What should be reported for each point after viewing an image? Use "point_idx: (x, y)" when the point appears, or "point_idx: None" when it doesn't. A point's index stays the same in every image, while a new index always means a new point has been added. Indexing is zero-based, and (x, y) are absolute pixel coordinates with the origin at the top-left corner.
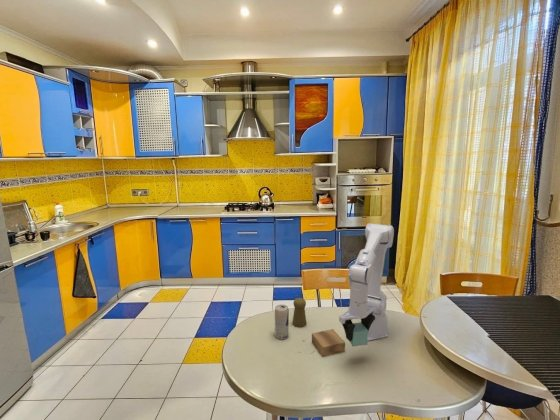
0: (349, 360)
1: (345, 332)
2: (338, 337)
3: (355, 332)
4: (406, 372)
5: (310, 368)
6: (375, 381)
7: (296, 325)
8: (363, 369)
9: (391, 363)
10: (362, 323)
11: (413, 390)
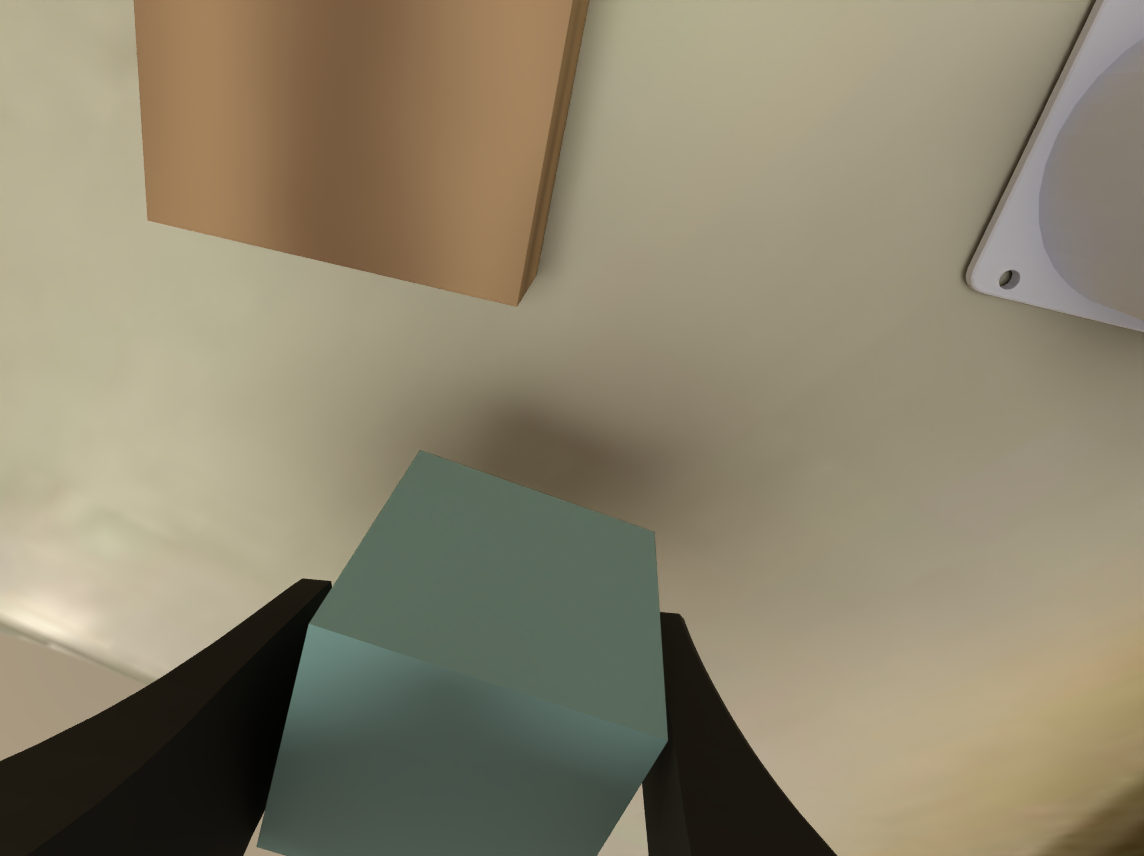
0: (478, 413)
1: (225, 645)
2: (508, 149)
3: (298, 852)
4: (789, 745)
5: (29, 288)
6: None
7: None
8: None
9: (794, 638)
10: (668, 765)
11: None
